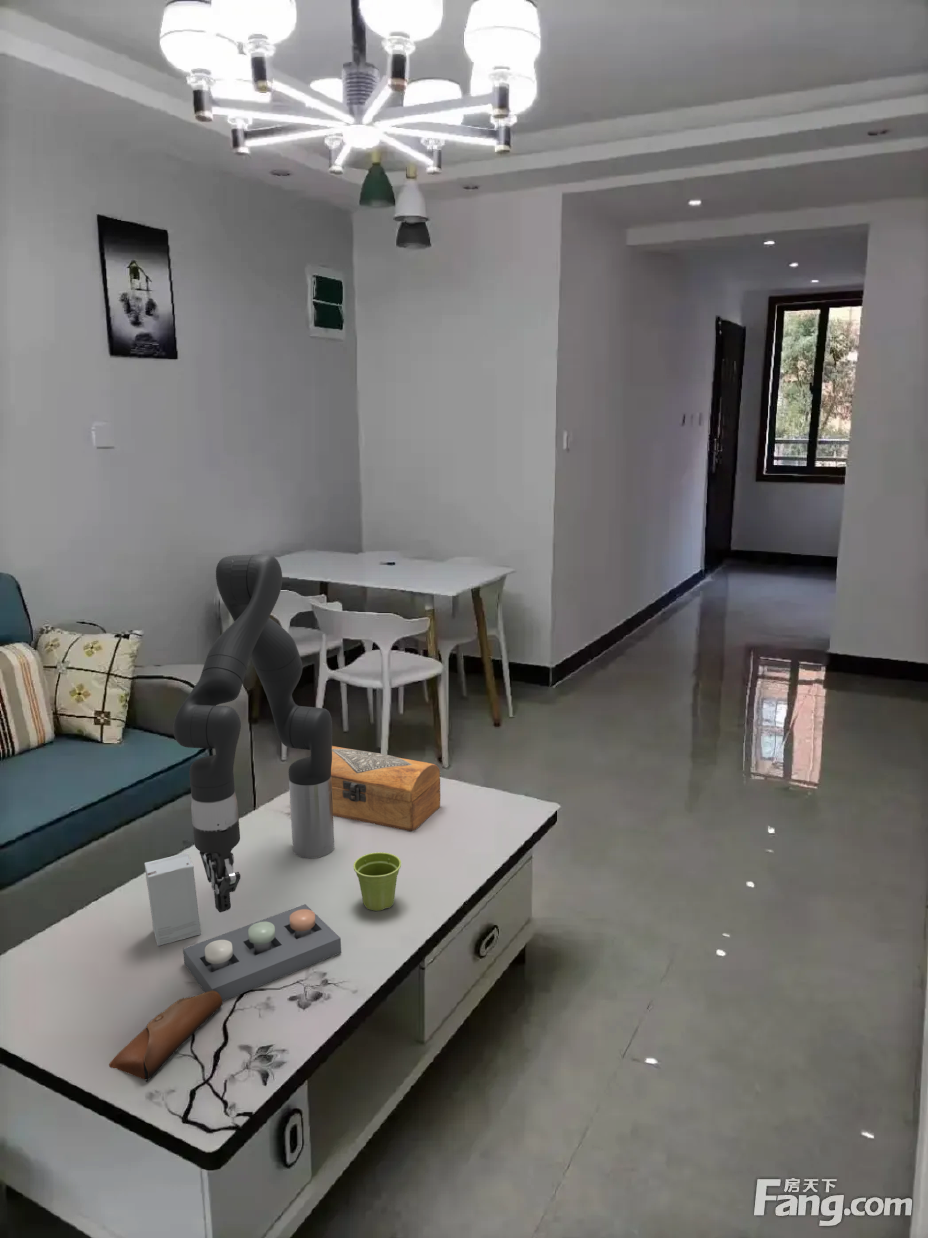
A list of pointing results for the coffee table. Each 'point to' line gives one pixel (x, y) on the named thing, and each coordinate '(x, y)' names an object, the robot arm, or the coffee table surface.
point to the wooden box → (383, 788)
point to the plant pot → (377, 879)
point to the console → (262, 956)
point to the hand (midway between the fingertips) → (223, 909)
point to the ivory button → (218, 954)
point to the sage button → (261, 936)
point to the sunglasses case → (165, 1035)
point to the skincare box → (173, 898)
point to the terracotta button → (302, 922)
